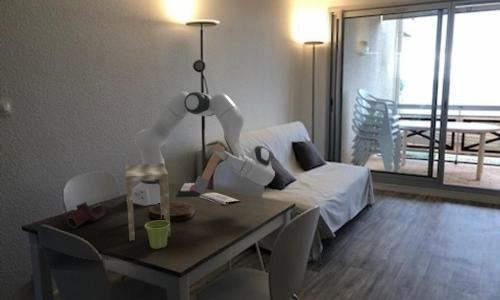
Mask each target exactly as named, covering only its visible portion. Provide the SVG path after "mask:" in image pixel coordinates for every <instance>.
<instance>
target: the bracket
mask: <svg viewBox="0 0 500 300" xmlns="http://www.w3.org/2000/svg"><path fill="white" fill-rule="evenodd" d="M75 207H76V208H77V211H75V210H74V209H71V210H69V211H68V213H69V215H70V216H69V217H67V219H66V223H67V225H68V226H69V227H70V228H71V229H77V228H78V227H80V226H82V224H84V223H86V222H88V221H89V222H92V221H93V222H96V221H97V220H99V219H100V218H101V217H103V216H104V215H106V210H105V209H104V206H103V204H101V203H100V204H98V205H94V206H92V210H93V212H92V210H91V209H90V207H89V205H88V203H87V202H86V201H84V202H80V203H79V204H76V205H75ZM87 220H88V221H87Z"/></svg>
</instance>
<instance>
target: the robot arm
mask: <svg viewBox="0 0 500 300" xmlns="http://www.w3.org/2000/svg"><path fill="white" fill-rule="evenodd" d="M189 114H193V115H196V116H199V117H200V116H201V117H211V116H214V115H215V117H216V119H217V120H218V122H219V124H220V126H221V127H222V130H223V138H224V141H225V143H226V145H227V147H228V149H229V151H230V152H228V151H227V150H225V149H224V151H223V153H222V152H220V151H218V150H216V152H215V154H216V155H218V156H220V160H223V162H225V163H226V164H227V165H229V166H230V167H231V168H232V170H233V172H234V173H235V174H237V175H239V176H241V177H243V178H246V179H249V180H250V181H251V182H253V183H256V184H258V185H260V186H264V187H265V186H268V185H269V184H270V183H272V182H273V180H274V178H275V175H276V172H275V170H274V169H273V167H272V162H271V160H272V159H271V158H272V155H271V152H270V151H269V149H267V147H265V146H263V145H262V146H261V145H256V146H255V147H254V148H253V149H251V151H249V153H248V154H246V152H245V150H244V149H243V146H242V145H241V143H240V136H241V135H240V134H241V131H242V128H243V126H244V122H245V120H244V115H243V113H242V112H241V110H240V109H239V107H238V106H237V105H236V103H235V102H234V101H233V100H232V99H231V98H230V97H229V96H228V95H227V93H222V92H221V93H220V92H219V93H217V94H215V95H214V96H213V95H210V94H207V93H205V92H198V91H192V92H187V91H180V92H178V93H177V94H176V95H175V96H174V97H173V98H171V99H170V100H169V101H168V103H166V105H165V106H164V107H163V108H162V110H161V111H160V112H159V113H158V114H157V117H156V119H155V120H154V122H153V124H152V125H151V126H149V127H147V128H143V129H141V130H139V131H138V132H137V133H136V135H134V144H135V147H137V149H138V151H139V153H140V154H139V155H140V156H141V161H142V165H145V164H161V163H163V164H164V166H165V167H166V165H165V158H164V157H163V155H162V152H161V147H162V146H164V145H165V144H166V143H167V142H168V140H169V139H170V137H171V136H172V134H173V132H174V131H175V130H176V129H177V127H179V126H180V124H181V123H182V122H183V121H184V119H186V117H188V115H189ZM214 150H215V148H213V150H212V153H213V152H214ZM132 199H133V204H136V205H140V206H150V205H153V206H154V205H159V204H158V203H160V183H159V179H155V180H142V181H139V183H137V185H135V186H134V187H132ZM126 202H127V199H126Z"/></svg>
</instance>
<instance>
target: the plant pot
mask: <svg viewBox="0 0 500 300" xmlns="http://www.w3.org/2000/svg"><path fill="white" fill-rule="evenodd" d="M169 225H170V226H171V221H170V222H168V221H165V220H161V219H160V220H152V221H148V222H146V223H145V224H144V228H145V229H146V232H147V235H148V241H149V246H150V247H151V248H152V249H154V250H155V249H156V250H157V249H161V248H165V247H166V246H167V245H168V237H169V236H168V228H169ZM167 236H168V237H167Z"/></svg>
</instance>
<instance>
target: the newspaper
mask: <svg viewBox="0 0 500 300" xmlns="http://www.w3.org/2000/svg"><path fill="white" fill-rule="evenodd" d="M200 198H202V199H205V200H208V201H211V202H213V203H215V204H218V205H224V206H227V205H230V204H229V203H230V202H239V201H241V200H239V199H236V198H234V197H230V196H228V195H225V194H221V193H218V192H206V193H204V194H200ZM226 202H227V203H226Z"/></svg>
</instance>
